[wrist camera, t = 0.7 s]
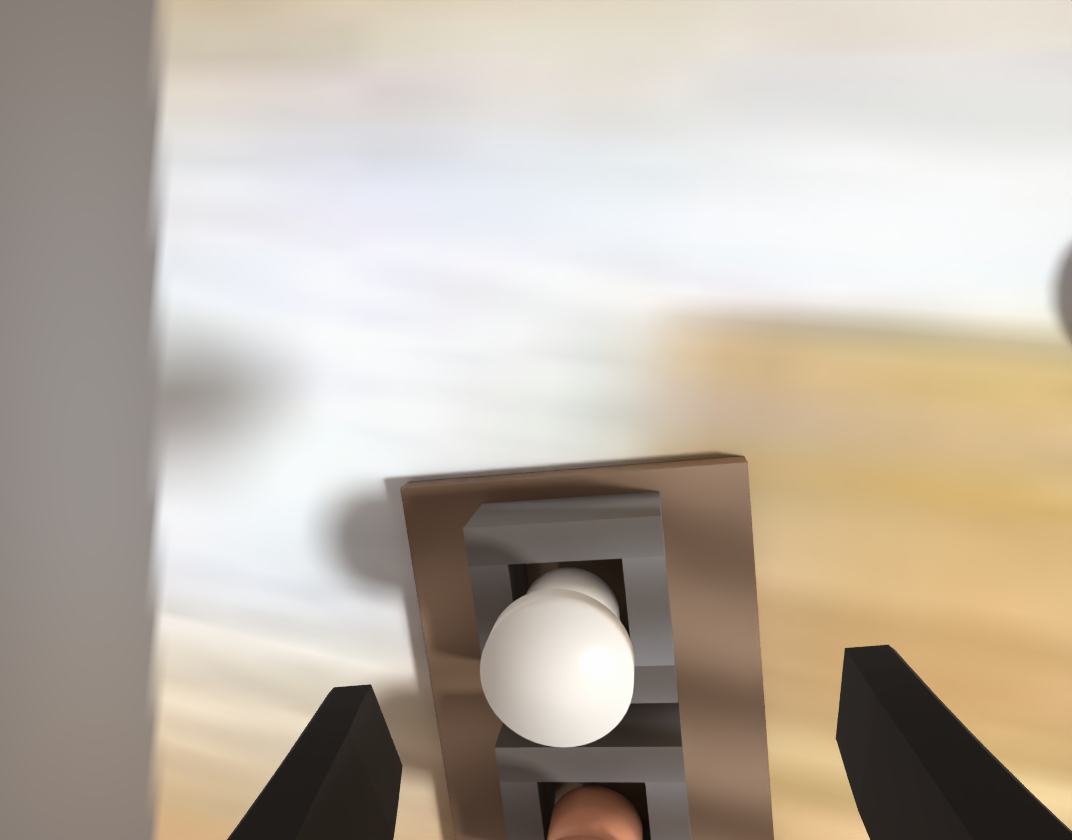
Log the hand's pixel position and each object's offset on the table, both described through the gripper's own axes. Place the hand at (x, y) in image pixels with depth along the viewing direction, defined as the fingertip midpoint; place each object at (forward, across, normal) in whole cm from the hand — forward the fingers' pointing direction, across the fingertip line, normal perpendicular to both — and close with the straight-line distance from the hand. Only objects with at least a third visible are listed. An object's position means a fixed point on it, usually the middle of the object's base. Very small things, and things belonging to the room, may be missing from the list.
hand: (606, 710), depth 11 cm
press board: (+14, +1, +15) cm, 20 cm away
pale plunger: (+12, +2, +10) cm, 15 cm away
